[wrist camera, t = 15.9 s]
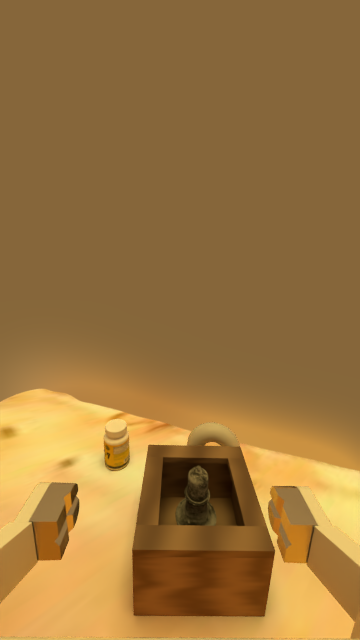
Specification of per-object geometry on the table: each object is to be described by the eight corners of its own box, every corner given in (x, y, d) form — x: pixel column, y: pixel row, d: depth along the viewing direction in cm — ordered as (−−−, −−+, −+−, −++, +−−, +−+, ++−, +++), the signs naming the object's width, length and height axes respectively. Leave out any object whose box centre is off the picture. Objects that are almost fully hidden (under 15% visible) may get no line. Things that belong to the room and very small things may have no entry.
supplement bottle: (103, 456, 51) (101, 420, 49) (126, 449, 53) (125, 414, 51) (107, 474, 46) (105, 436, 44) (132, 466, 49) (131, 429, 46)
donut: (237, 466, 49) (241, 422, 47) (238, 480, 46) (243, 434, 44) (187, 458, 51) (189, 415, 49) (185, 472, 48) (186, 426, 45)
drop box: (133, 615, 28) (132, 549, 26) (148, 494, 43) (148, 444, 40) (264, 616, 29) (275, 551, 26) (235, 495, 43) (240, 446, 41)
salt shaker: (201, 508, 40) (205, 444, 37) (223, 545, 35) (230, 474, 32) (168, 523, 38) (170, 456, 35) (186, 566, 32) (190, 491, 30)
